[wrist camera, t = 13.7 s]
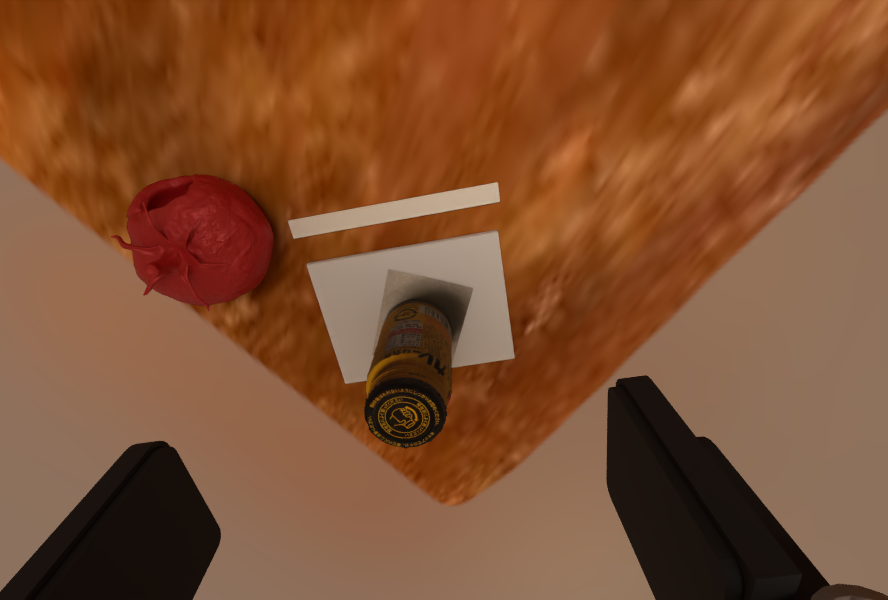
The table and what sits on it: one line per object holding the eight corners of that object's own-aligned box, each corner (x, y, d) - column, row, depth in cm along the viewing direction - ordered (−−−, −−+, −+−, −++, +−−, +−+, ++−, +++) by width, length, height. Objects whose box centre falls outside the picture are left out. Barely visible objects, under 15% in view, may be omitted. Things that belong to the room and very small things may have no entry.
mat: (308, 262, 36) (306, 265, 35) (497, 229, 35) (497, 231, 34) (346, 380, 40) (345, 383, 40) (513, 354, 39) (514, 358, 39)
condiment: (372, 353, 39) (343, 449, 28) (388, 268, 35) (362, 338, 24) (450, 369, 39) (451, 468, 28) (473, 286, 36) (485, 363, 25)
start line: (288, 220, 34) (287, 220, 34) (497, 182, 33) (497, 182, 33) (294, 238, 35) (293, 238, 35) (499, 201, 34) (500, 201, 33)
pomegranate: (310, 227, 35) (266, 265, 26) (243, 307, 38) (183, 364, 29) (204, 137, 32) (115, 147, 23) (140, 231, 35) (41, 270, 26)
